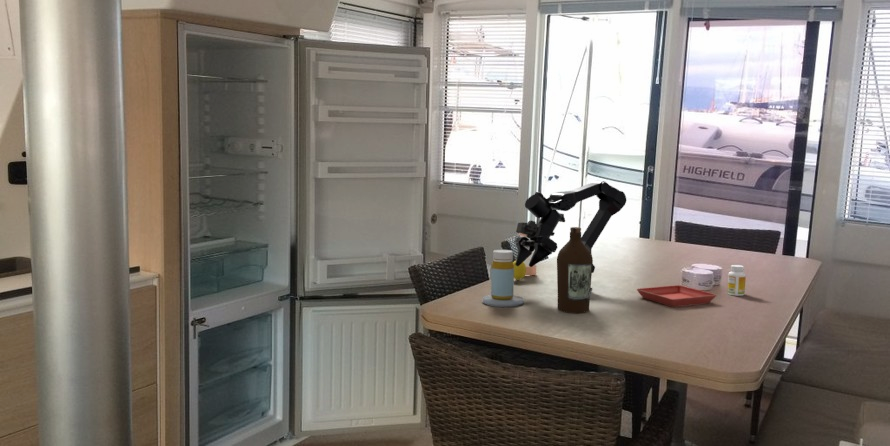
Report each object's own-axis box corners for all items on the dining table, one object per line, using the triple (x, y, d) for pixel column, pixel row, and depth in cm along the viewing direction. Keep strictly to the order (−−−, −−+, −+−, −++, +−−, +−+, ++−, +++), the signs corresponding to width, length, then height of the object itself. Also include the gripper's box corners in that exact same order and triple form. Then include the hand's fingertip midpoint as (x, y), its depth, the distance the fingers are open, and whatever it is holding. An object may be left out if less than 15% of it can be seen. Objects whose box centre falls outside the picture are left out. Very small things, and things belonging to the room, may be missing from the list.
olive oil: (550, 306, 232) (552, 225, 229) (582, 305, 235) (585, 225, 232) (563, 314, 222) (565, 230, 219) (596, 313, 224) (599, 229, 221)
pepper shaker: (514, 275, 284) (515, 224, 282) (519, 272, 290) (521, 222, 288) (533, 277, 281) (534, 225, 279) (538, 273, 288) (539, 223, 286)
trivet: (532, 302, 237) (532, 298, 237) (505, 309, 228) (505, 305, 228) (501, 296, 247) (501, 292, 246) (473, 302, 238) (474, 298, 237)
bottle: (487, 296, 240) (487, 250, 238) (506, 295, 243) (507, 248, 241) (497, 301, 233) (498, 253, 232) (517, 299, 236) (518, 252, 235)
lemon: (525, 282, 270) (525, 260, 269) (509, 281, 271) (510, 259, 270) (526, 279, 275) (527, 258, 274) (511, 279, 276) (511, 257, 275)
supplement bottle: (744, 293, 255) (745, 265, 254) (744, 296, 250) (746, 267, 249) (727, 292, 257) (728, 264, 256) (727, 295, 252) (729, 266, 251)
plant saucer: (634, 298, 248) (635, 288, 248) (678, 294, 255) (679, 284, 255) (671, 309, 231) (672, 299, 231) (717, 305, 239) (718, 294, 238)
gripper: (514, 213, 254) (491, 252, 250) (542, 210, 237) (517, 252, 233) (539, 231, 257) (516, 270, 253) (568, 230, 240) (544, 272, 236)
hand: (523, 266), depth 244 cm, fingers open, 9 cm apart
